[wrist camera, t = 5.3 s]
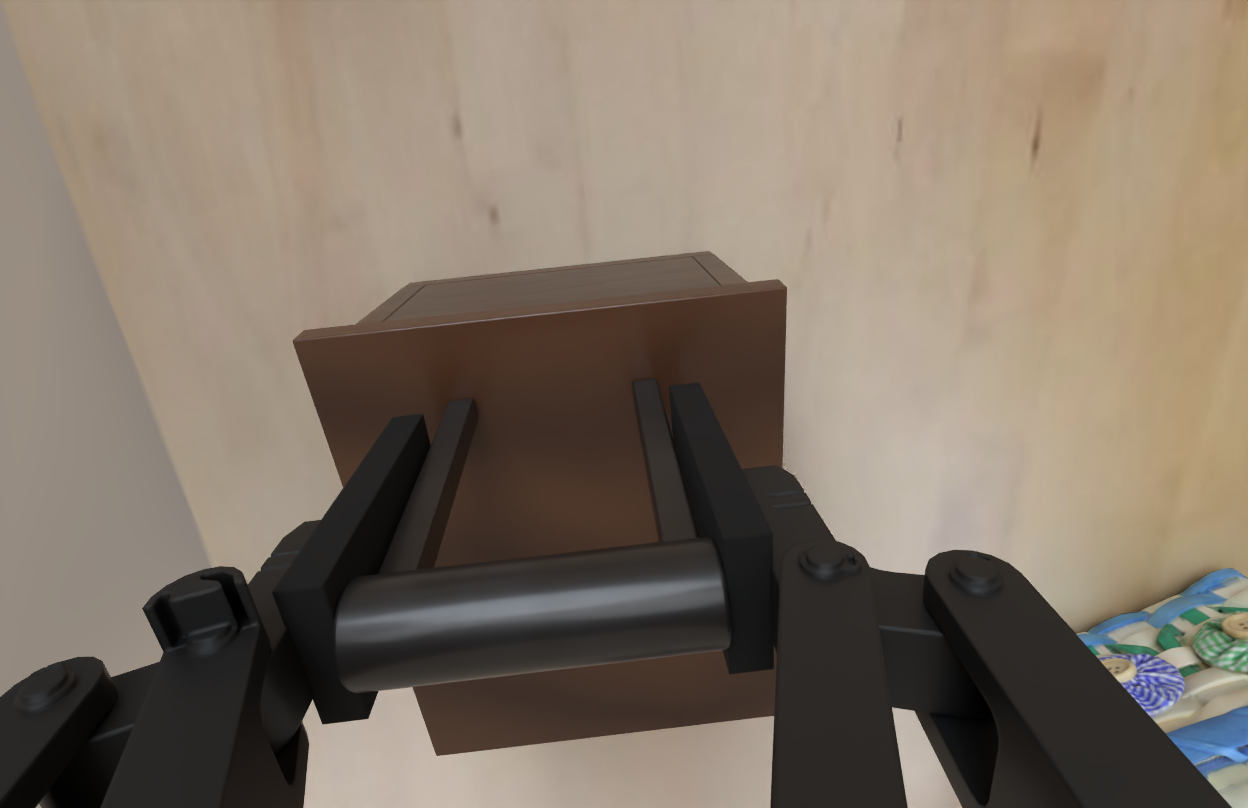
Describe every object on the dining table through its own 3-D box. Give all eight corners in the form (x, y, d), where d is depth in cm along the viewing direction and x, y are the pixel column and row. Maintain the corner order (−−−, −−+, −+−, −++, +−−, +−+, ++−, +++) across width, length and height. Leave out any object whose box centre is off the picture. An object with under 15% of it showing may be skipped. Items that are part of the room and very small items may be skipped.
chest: (408, 282, 27) (329, 343, 19) (710, 250, 27) (765, 296, 19) (476, 588, 33) (440, 736, 24) (723, 559, 33) (770, 697, 25)
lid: (303, 330, 17) (22, 578, 8) (778, 278, 17) (978, 469, 9) (440, 736, 24) (365, 1089, 16) (770, 697, 25) (873, 1024, 16)
